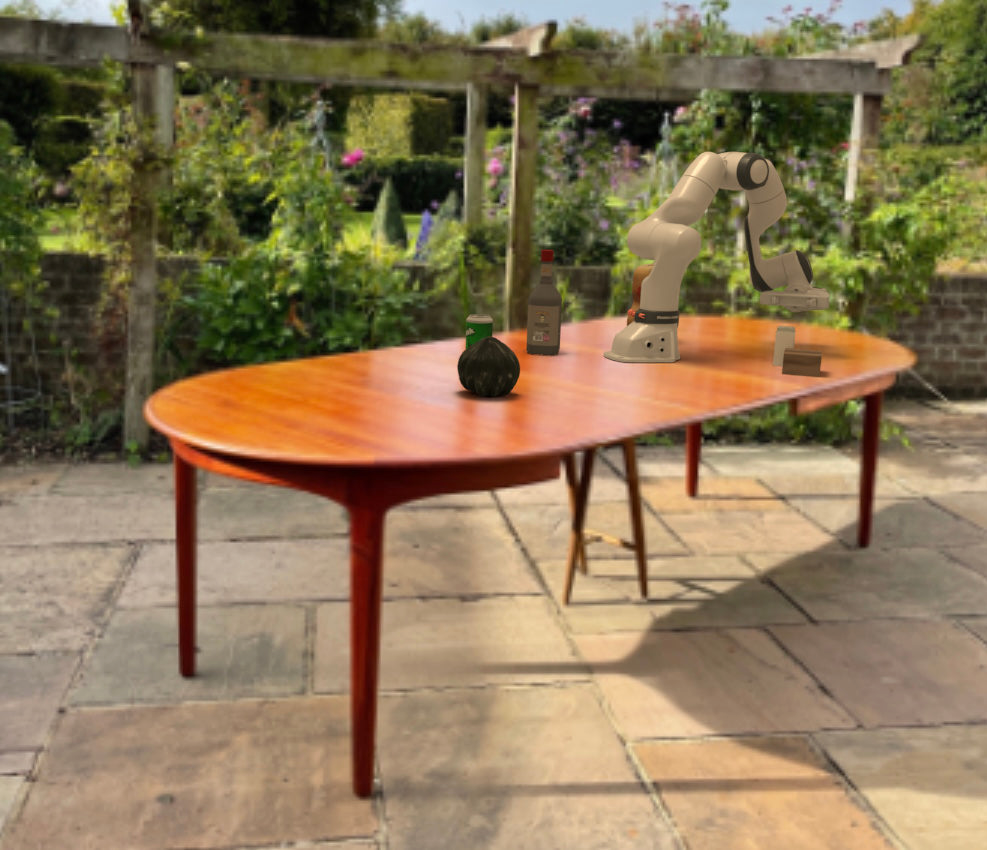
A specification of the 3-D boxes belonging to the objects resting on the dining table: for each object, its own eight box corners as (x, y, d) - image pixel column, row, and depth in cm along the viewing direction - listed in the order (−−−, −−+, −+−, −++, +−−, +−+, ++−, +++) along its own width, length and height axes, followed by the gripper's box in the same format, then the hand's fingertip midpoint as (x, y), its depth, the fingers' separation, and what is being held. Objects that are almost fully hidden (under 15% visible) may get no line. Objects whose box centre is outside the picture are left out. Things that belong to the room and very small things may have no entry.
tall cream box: (790, 367, 312) (794, 329, 309) (772, 365, 314) (776, 327, 311) (792, 364, 316) (795, 326, 314) (774, 363, 318) (778, 325, 316)
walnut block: (819, 377, 298) (821, 356, 297) (781, 374, 301) (783, 353, 299) (819, 371, 307) (821, 350, 306) (783, 368, 310) (785, 348, 309)
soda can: (492, 356, 314) (494, 314, 311) (490, 360, 306) (491, 317, 304) (466, 354, 314) (468, 313, 312) (463, 359, 307) (464, 316, 304)
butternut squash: (619, 342, 346) (623, 263, 340) (634, 337, 357) (639, 260, 352) (660, 347, 340) (666, 266, 334) (674, 342, 351) (680, 263, 345)
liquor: (556, 356, 317) (560, 252, 310) (525, 354, 319) (529, 250, 312) (560, 351, 326) (565, 249, 319) (530, 349, 327) (534, 248, 320)
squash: (491, 362, 272) (467, 321, 262) (539, 373, 263) (516, 331, 253) (461, 405, 266) (436, 365, 256) (509, 417, 257) (484, 376, 247)
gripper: (762, 285, 338) (757, 289, 325) (831, 288, 331) (828, 293, 318) (761, 305, 339) (755, 310, 327) (829, 309, 333) (826, 315, 320)
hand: (792, 302), depth 322 cm, fingers open, 8 cm apart
